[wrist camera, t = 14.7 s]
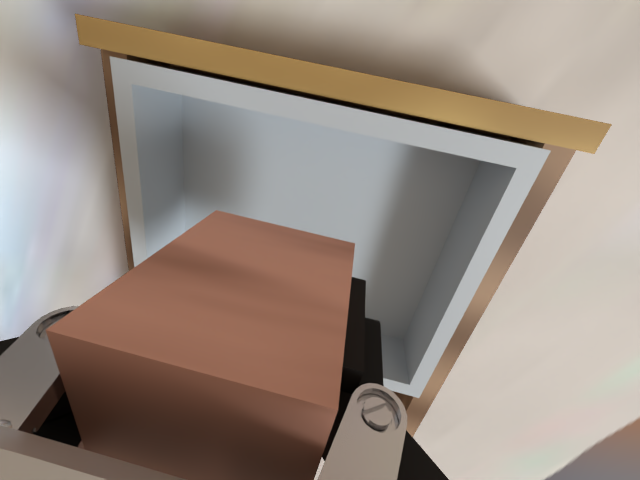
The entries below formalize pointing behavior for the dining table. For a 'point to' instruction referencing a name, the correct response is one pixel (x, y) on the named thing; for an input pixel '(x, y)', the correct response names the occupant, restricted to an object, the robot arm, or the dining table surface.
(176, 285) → the block
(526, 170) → the grey tray
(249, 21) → the dining table surface
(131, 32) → the bay
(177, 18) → the dining table surface
